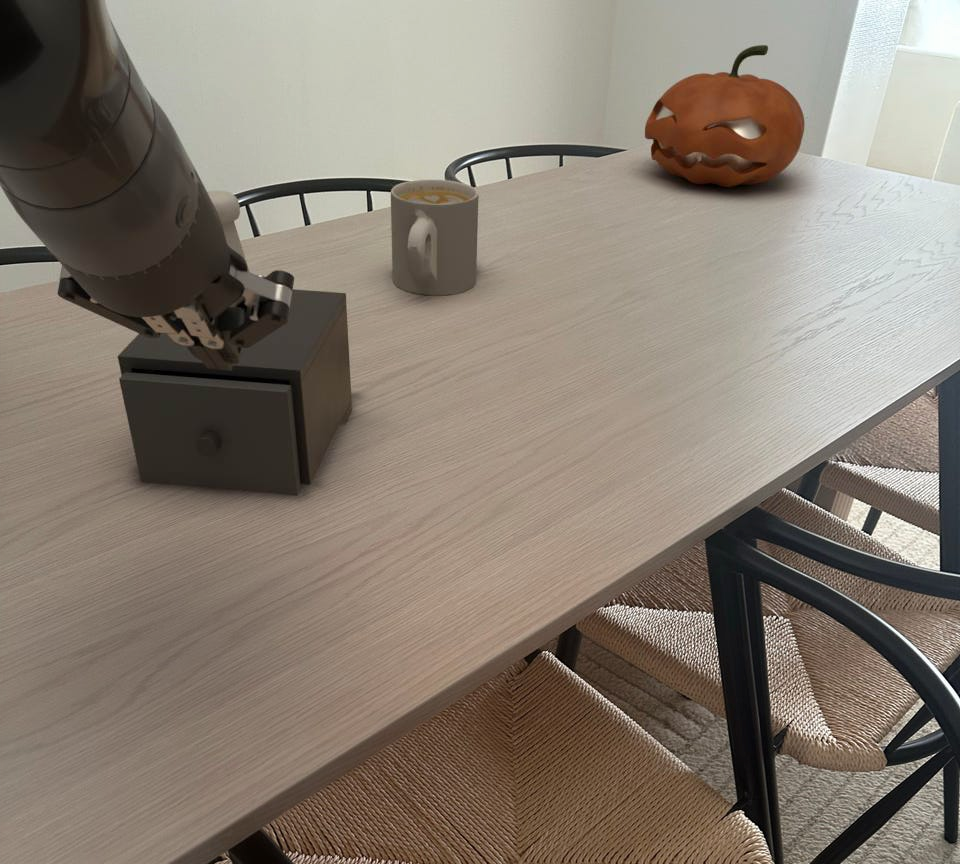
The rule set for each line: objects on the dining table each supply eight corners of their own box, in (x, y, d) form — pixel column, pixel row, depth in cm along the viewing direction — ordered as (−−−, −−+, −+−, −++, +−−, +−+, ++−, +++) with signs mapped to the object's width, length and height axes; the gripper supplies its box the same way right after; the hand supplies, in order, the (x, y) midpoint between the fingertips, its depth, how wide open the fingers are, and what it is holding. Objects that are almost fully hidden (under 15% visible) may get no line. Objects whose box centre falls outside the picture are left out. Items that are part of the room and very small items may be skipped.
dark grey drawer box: (311, 497, 79) (300, 370, 72) (143, 483, 80) (117, 355, 73) (352, 409, 91) (345, 292, 84) (206, 397, 92) (188, 281, 85)
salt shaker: (198, 315, 107) (179, 188, 99) (250, 308, 109) (235, 182, 101) (213, 335, 103) (194, 204, 95) (266, 327, 105) (252, 198, 97)
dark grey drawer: (293, 505, 76) (282, 399, 71) (135, 492, 77) (111, 385, 71) (338, 413, 88) (332, 316, 83) (201, 402, 89) (185, 305, 83)
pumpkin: (607, 177, 156) (621, 38, 144) (688, 150, 171) (708, 22, 159) (748, 211, 144) (777, 63, 132) (822, 179, 159) (854, 44, 147)
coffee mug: (416, 261, 123) (415, 174, 116) (489, 274, 120) (492, 187, 113) (362, 295, 113) (358, 203, 107) (440, 311, 110) (441, 218, 104)
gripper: (272, 130, 44) (337, 309, 61) (-18, 100, 44) (128, 286, 61) (246, 289, 43) (319, 425, 60) (-49, 257, 43) (107, 401, 61)
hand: (222, 354), depth 61 cm, fingers closed
